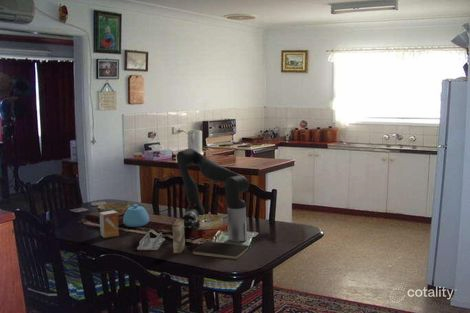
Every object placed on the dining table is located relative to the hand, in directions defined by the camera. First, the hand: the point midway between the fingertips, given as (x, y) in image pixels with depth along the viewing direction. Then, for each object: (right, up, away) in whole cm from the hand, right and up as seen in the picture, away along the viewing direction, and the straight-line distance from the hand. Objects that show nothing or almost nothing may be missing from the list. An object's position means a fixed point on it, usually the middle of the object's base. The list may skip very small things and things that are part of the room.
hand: (183, 227), depth 271 cm
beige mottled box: (-1, -9, -11) cm, 14 cm away
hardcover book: (+20, -10, -15) cm, 27 cm away
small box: (-41, -7, +16) cm, 45 cm away
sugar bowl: (-31, -3, +38) cm, 49 cm away
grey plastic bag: (-16, -8, -2) cm, 18 cm away
